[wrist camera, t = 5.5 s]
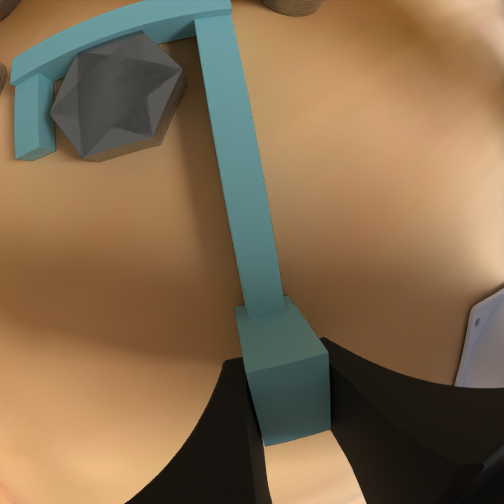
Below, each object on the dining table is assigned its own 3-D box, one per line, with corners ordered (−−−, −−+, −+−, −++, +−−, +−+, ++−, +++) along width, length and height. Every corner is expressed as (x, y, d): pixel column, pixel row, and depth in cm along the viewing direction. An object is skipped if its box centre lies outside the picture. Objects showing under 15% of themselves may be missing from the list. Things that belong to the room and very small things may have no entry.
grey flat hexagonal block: (194, 137, 9) (191, 128, 7) (72, 171, 8) (53, 169, 7) (180, 40, 8) (176, 21, 6) (66, 77, 7) (50, 65, 6)
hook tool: (297, 361, 11) (330, 429, 7) (103, 390, 10) (75, 454, 6) (234, 8, 8) (246, -60, 4) (32, 70, 7) (-22, 39, 3)
